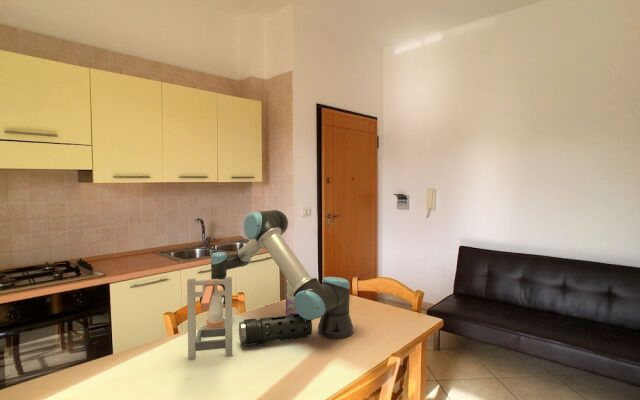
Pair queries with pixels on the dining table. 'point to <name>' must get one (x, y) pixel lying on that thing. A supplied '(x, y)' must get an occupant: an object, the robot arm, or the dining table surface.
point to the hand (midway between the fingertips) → (214, 305)
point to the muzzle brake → (274, 329)
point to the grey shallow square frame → (210, 343)
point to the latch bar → (207, 297)
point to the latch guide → (192, 315)
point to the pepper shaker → (215, 312)
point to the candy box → (290, 299)
